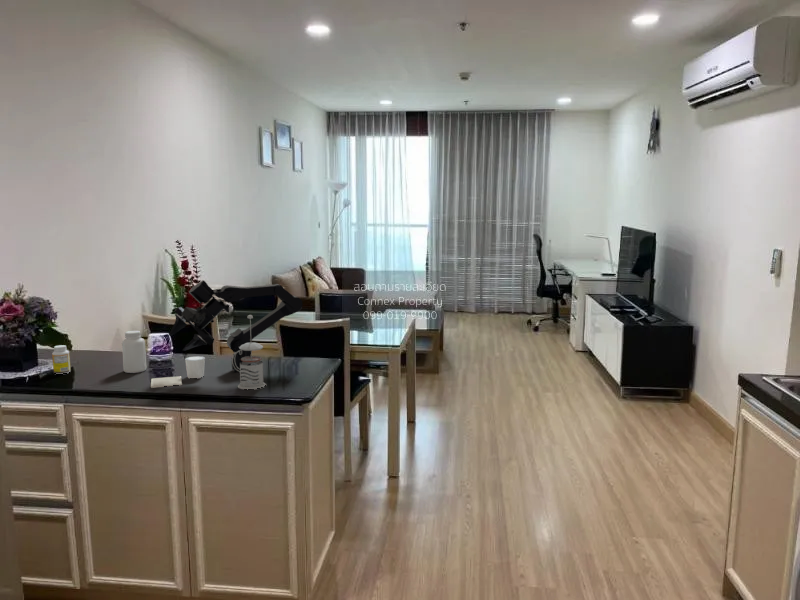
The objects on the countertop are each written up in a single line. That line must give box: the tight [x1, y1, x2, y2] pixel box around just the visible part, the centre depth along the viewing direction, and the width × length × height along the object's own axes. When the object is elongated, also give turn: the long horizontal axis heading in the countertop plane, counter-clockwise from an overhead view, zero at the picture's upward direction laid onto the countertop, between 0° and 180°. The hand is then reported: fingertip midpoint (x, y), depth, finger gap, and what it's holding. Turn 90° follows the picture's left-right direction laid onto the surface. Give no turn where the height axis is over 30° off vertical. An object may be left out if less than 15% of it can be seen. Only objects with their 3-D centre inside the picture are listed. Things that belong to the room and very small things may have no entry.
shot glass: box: [184, 355, 206, 379], centre depth 221 cm, size 7×7×7 cm
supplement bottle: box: [51, 344, 71, 375], centre depth 223 cm, size 6×6×10 cm
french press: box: [231, 314, 267, 391], centre depth 209 cm, size 10×12×25 cm
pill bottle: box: [121, 330, 147, 374], centre depth 227 cm, size 8×8×15 cm
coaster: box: [150, 375, 183, 389], centre depth 213 cm, size 10×10×1 cm
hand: (176, 342), depth 219 cm, fingers open, 9 cm apart
